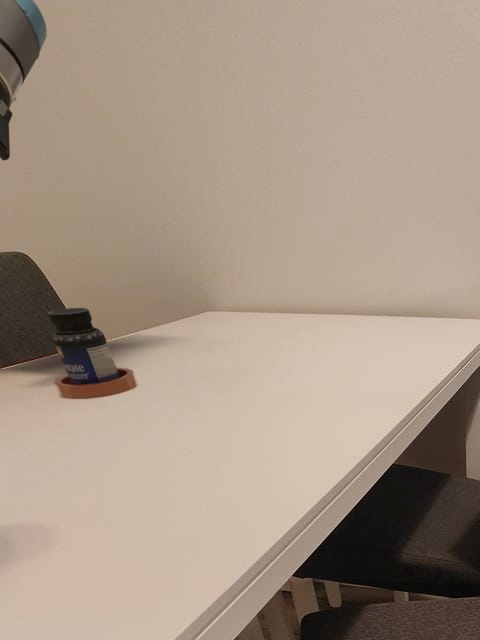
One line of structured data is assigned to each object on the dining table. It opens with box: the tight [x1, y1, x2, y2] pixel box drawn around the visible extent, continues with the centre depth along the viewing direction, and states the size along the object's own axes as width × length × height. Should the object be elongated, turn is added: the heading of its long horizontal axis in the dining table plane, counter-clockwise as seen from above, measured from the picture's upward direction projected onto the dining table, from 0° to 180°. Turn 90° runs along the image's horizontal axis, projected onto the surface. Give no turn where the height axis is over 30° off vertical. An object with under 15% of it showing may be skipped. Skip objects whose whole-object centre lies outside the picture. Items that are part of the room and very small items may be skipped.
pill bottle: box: [47, 307, 120, 385], centre depth 80 cm, size 6×6×11 cm
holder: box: [54, 367, 139, 400], centre depth 83 cm, size 10×10×4 cm
